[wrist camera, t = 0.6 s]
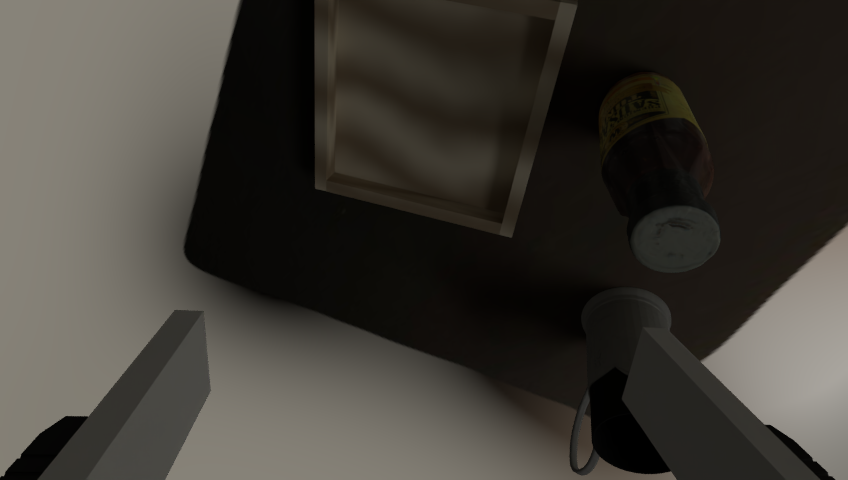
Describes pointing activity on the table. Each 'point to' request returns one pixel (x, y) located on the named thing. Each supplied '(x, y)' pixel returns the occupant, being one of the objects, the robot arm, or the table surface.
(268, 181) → the table surface
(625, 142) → the sauce bottle
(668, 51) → the table surface
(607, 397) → the glass holder
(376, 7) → the birch tray
